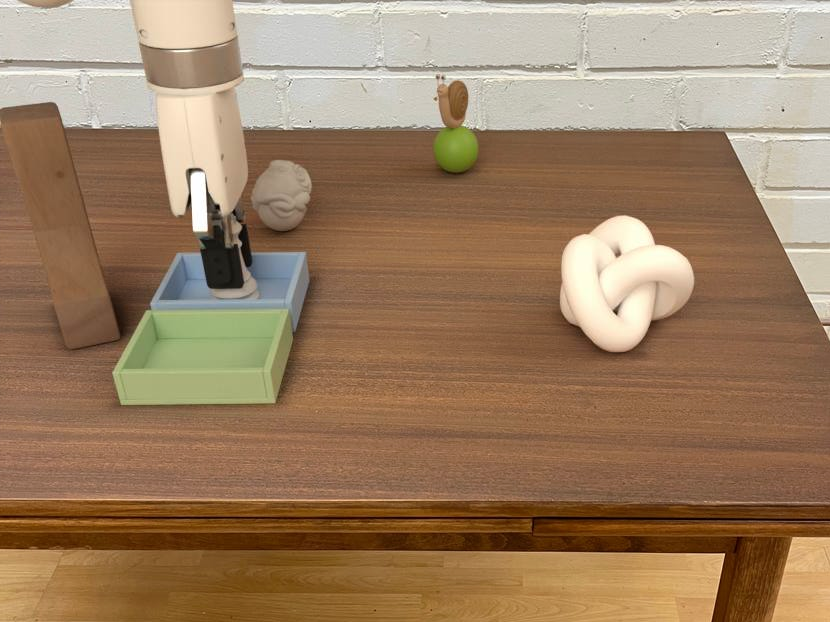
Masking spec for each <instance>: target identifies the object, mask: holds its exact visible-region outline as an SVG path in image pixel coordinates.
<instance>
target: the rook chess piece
mask: <svg viewBox="0 0 830 622" xmlns="http://www.w3.org/2000/svg"><path fill="white" fill-rule="evenodd" d="M230 219H231V227H232V234H233V243H234V244H238V248H239V254H240V260H241V266H242V272H243V278H244V285H243V287H242V288H240V289H210V293H211V294H212V295H211V300H233V299H258V297H259V291H258V290H257V289H256V288H257V282H256V280H255V279H254V278H253V277H252V276H251V275H250V272H249V271H248V270H247V268H246V266H245V263H244V260H243V257H242V254H241V249H240V247H241V245H242V242H241V241H240V240H239V238H238V235H239V233H240V231H241V229H242V225H240V224H241V223H240V224H239V223H238V222H237V221H236V216H234V215H233V214H232V213H230ZM211 221H212V223H213V224H214V225H219V226H220V228H221V229H222V223H221V220H211ZM222 231H223V230H222Z"/></svg>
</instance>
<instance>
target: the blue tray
mask: <svg viewBox="0 0 830 622" xmlns="http://www.w3.org/2000/svg"><path fill="white" fill-rule="evenodd" d="M251 255H252V261H253V262H252V265H251V266H250V267H246V268H247V270H248V271H249V272H250V275H251V276H252V277H253V278H254V279H255V280H256V282H257V288H256V289H257V290H258V291H259V297H258V299H233V300H211V295H212V294H211V293H210V288H209V287H208V286H207V282H206V277H205V272H204V267H203V262H202V257H201V252H177V253H176V255H175V257H174V259H173V261H172V263H171V264H170V266H169V268H168V270H167V272H166V273H165V275H164V277H163V279H162V281H161V283H160V285H159V286H158V288H157V290H156V292H155V293H154V295H153V297H152V299H151V301H150V302H149V304H150V305H149V306H150V310H223V309H289V312H290V319H291V326H292V333H296V331H297V327H298V324H299V320H300V316H301V314H302V313H301V312H302V309H303V305H304V301H305V298H306V294H307V291H308V287H309V284H310V274H309V273H310V272H309V265H308V256H307V252H306V251H276V252H275V251H266V252H265V251H263V252H261V251H260V252H259V251H258V252H257V251H255V252H252V251H251Z"/></svg>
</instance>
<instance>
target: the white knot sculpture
mask: <svg viewBox="0 0 830 622" xmlns="http://www.w3.org/2000/svg"><path fill="white" fill-rule="evenodd" d="M617 253H620V255H619V256H617V255H616V254H617ZM560 273H561V275H560V277H561V286H560V291H559V306H560V311H561V314H562V315H563V317H564V318H565V320H566V321H567V322H568V323H570V324H572V325H574V326H577V327H579V328H580V329H581V330H582V333H584V334H585V336H587V338H589V340H591V341H592V342H593V344H594V345H595V346H597V347H598V348H600V349H602V350H604V351H607V352H609V353H624V352H625V353H626V352H628V351H631V350H633V349H634V348H635V347H636V346H638V345H639V344H640V342H642V340H643V338H644V337H645V336H646V333H647V332H648V329H649V327H650V324H651V322H653V321H659V320H663V319H665V318H668V317H670V316H672V315H673V314H674V313H676V312H677V311H679V310H680V309H682V308H683V307H684V306H685V305H686V303H687V302H689V300H690V297H691V295H692V292H693V289H694V285H695V275H694V271H693V267H692V265H691V263H690V261H689V259H688V258H687V257H686V256H684V254H682V253H681V252H679V251H678V250H676V249H674V248H672V247H670V246H667V245H662V244H656V243H655V239H654V236H653V235H652V233H651V231H650V229H649V227H647V225H646V224H645V223H644V222H643V221H641V220H640V219H638V218H636V217H634V216H633V217H632V216H629V215H626V214H625V215H616V216H613V217H611V218H608V219H606V220H605V221H603V222H602V223H600V224H598V225H597V226H596V227H595V228H594V229H592V230H591V231H590V232H589V233H588V234H587V233H583V234H580V235H576V236H574V237H573V238H571V239H570V241H569V242H568V243H567V244H566V246H565V247H564V248H563V251H562V255H561V265H560ZM614 310H615V312H617V314H616V313H615V312H614Z"/></svg>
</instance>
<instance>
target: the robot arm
mask: <svg viewBox="0 0 830 622" xmlns="http://www.w3.org/2000/svg"><path fill="white" fill-rule="evenodd" d="M16 1H17V2H19V3H22V4H24V5H27V6H30V7H33V8H39V9H40V8H41V9H53V8H59V7H62V6H65V5H67V4H70V3H73V2H74V1H75V0H16ZM129 3H130V7H131V12H132V17H133V20H134V26H135V31H136V35H137V40H138V46H139V51H140V52H139V53H140V56H141V61H142V65H143V70H144V75H145V79H146V85H147V87H148V89H149V90H150V91H152V92H155V104H156V105H155V106H156V116H157V119H156V120H157V127H158V136H159V143H160V151H161V157H162V163H163V169H164V175H165V176H164V177H165V182H166V189H167V194H168V199H169V205H170V211H171V213H172V214H173V215H174V217H176V218H179V219H180V218H183V217H185V216H186V213H187V212H188V210H189V208H190V207H191V218H192V222H191V223H192V233H193V236H194V238H197V244H198V248H199V253H201V257H202V262H203V267H204V272H205V277H206V282H207V286H208V287H209V288H210V289H240V288H242V287H243V285H244V278H243V272H242V266H241V260H240V254H239V248H238V244H234V243H233V234H232V227H231V219H230V213H232V214H233V215H234V216H236V221H237V222H238V223H239V224H240V225H242V229H241V231H240V233H239V235H238V238H239V240H240V241H241V242H242V245H241V247H240V249H241V254H242V257H243V260H244V263H245V266H246V267H250V266H251V265H252V262H253V261H252V255H251V252H252V248H251V244H250V236H249V230H248V225H247V223H245V222H246V214H245V213H246V212H245V208H244V203H243V197H242V194H243V192H244V189H245V187H246V185H247V182H248V179H249V177H248V176H249V167H248V166H249V165H248V156H247V149H246V143H245V141H246V140H245V136H244V129H243V125H242V118H241V114H240V107H239V103H238V98H237V96H238V94H237V92H236V89H235V87H238V86H240V85H242V83H243V82H244V81H245V75H244V69H243V61H242V55H241V50H240V42H239V35H238V30H237V23H236V16H235V10H234V3H233V0H129ZM211 220H221V223H222V229H221V228H220V226H219V225H214V224H213V223H212V221H211ZM222 230H223V231H222Z"/></svg>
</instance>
